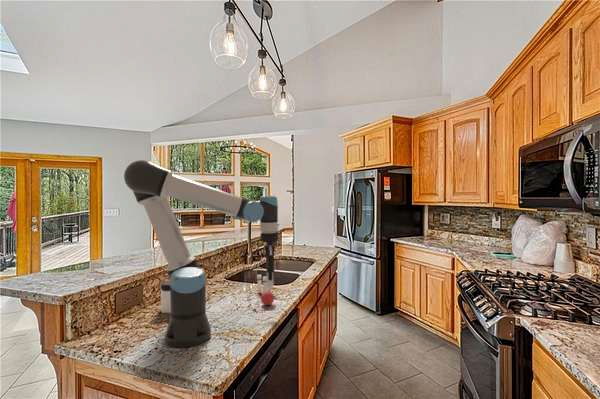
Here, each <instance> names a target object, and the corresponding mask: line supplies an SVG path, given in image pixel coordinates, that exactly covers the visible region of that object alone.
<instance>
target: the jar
mask: <svg viewBox="0 0 600 399" xmlns="http://www.w3.org/2000/svg"><path fill="white" fill-rule="evenodd" d="M160 312H161V313H162V314H171V312H170V280H165V281H163V282H161V284H160Z"/></svg>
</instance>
